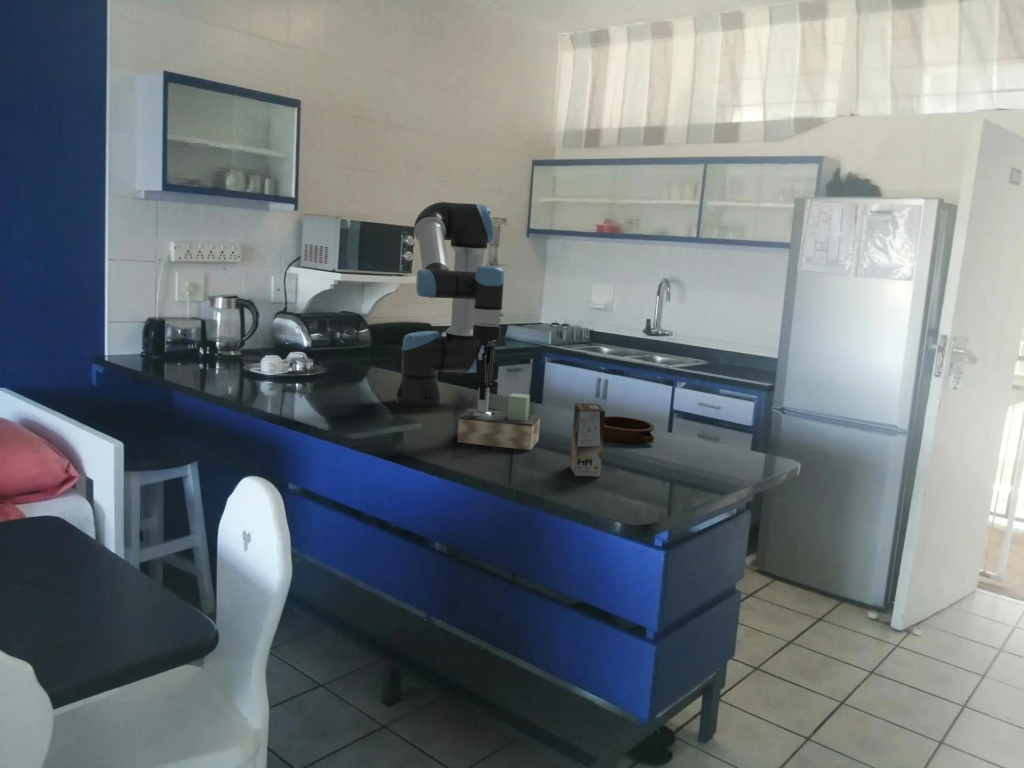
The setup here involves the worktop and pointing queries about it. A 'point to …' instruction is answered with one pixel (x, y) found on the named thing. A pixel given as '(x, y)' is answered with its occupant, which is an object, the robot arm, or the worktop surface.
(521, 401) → the sage peg
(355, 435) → the worktop surface
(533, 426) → the socket block
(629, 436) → the dish
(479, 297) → the robot arm
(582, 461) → the coffee box
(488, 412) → the metal peg
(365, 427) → the worktop surface
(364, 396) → the worktop surface
